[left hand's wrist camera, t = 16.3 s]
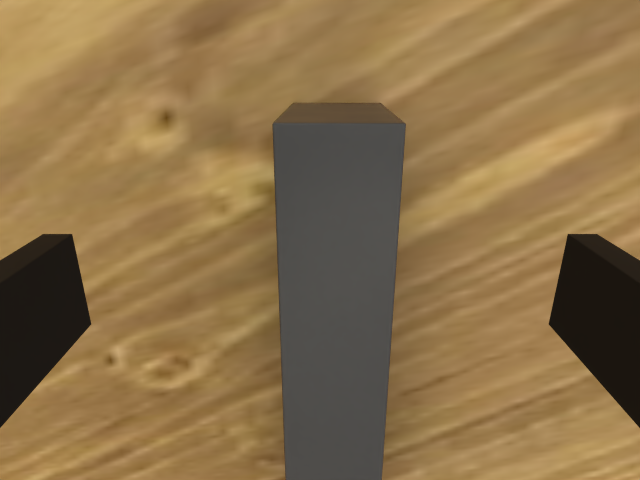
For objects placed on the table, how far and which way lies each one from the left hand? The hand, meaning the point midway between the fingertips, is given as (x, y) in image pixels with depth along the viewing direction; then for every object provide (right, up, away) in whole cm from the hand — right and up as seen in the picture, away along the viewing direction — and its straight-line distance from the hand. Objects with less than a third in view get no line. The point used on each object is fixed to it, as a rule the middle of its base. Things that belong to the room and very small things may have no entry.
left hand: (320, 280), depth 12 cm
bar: (+1, -4, +16) cm, 17 cm away
